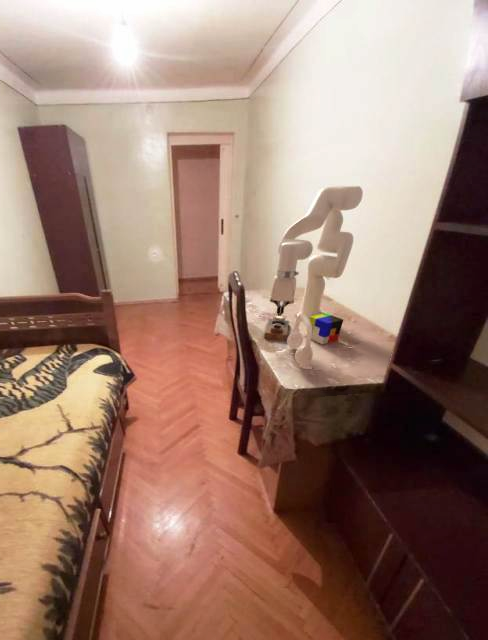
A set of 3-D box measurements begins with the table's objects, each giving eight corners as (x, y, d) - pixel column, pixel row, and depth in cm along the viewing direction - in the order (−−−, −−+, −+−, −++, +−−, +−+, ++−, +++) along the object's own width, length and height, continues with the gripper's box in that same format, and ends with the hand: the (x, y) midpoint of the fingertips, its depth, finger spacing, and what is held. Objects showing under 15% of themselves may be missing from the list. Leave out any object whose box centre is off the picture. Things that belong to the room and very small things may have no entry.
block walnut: (287, 332, 156) (288, 324, 153) (285, 340, 148) (287, 331, 145) (266, 330, 158) (267, 321, 156) (264, 338, 150) (265, 329, 148)
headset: (284, 348, 141) (291, 308, 131) (300, 348, 141) (308, 308, 131) (294, 369, 124) (303, 326, 114) (312, 370, 124) (323, 326, 114)
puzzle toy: (322, 344, 144) (327, 323, 138) (306, 336, 151) (310, 316, 146) (337, 340, 148) (343, 319, 142) (321, 333, 155) (326, 313, 150)
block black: (288, 324, 165) (289, 317, 163) (287, 331, 157) (288, 324, 155) (268, 322, 167) (269, 315, 165) (266, 329, 159) (268, 321, 157)
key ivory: (282, 319, 161) (282, 316, 160) (281, 321, 158) (282, 318, 157) (275, 319, 162) (276, 315, 161) (275, 321, 159) (275, 317, 158)
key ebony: (280, 326, 151) (280, 323, 151) (280, 328, 149) (280, 325, 148) (274, 326, 152) (274, 322, 151) (274, 328, 150) (274, 325, 149)
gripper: (304, 273, 138) (296, 313, 149) (269, 271, 142) (264, 311, 153) (303, 277, 132) (296, 319, 143) (267, 275, 136) (262, 316, 147)
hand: (279, 315), depth 148 cm, fingers closed
